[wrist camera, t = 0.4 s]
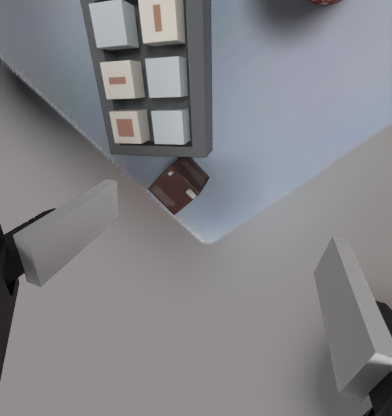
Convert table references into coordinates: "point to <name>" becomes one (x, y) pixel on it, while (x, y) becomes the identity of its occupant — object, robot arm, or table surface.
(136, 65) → the key
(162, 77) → the key
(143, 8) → the key
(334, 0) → the mug
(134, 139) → the key
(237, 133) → the table surface
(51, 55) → the table surface
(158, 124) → the key
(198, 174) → the box
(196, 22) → the keypad
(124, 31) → the key
